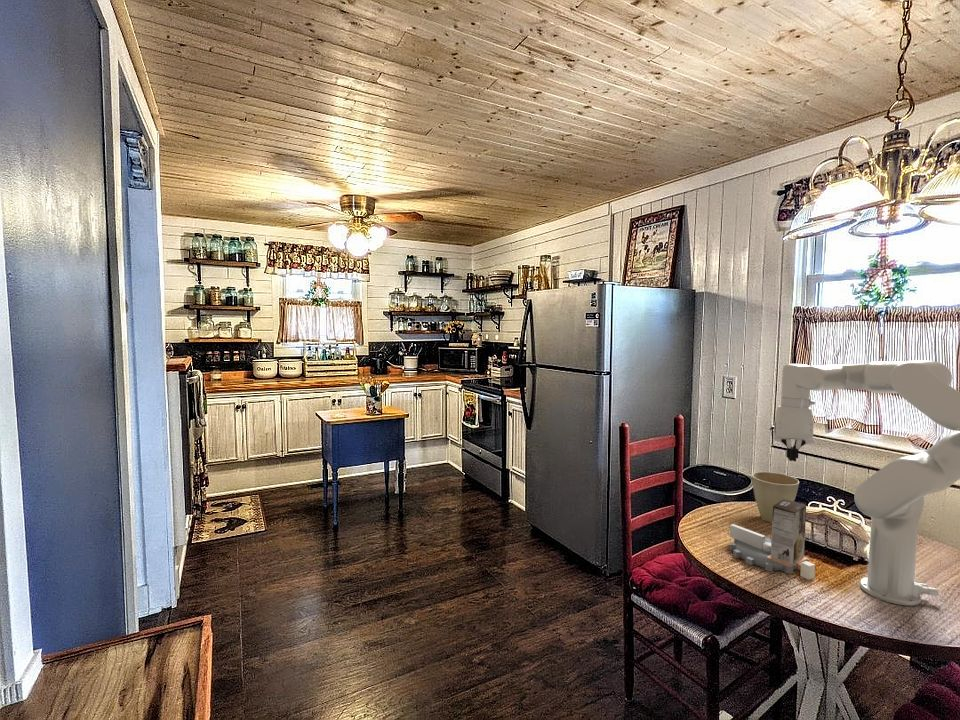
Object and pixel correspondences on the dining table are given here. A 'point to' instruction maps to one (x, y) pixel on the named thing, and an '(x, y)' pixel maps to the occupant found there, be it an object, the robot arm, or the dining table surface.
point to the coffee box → (788, 531)
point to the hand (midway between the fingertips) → (792, 460)
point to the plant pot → (772, 491)
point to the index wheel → (758, 550)
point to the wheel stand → (807, 570)
